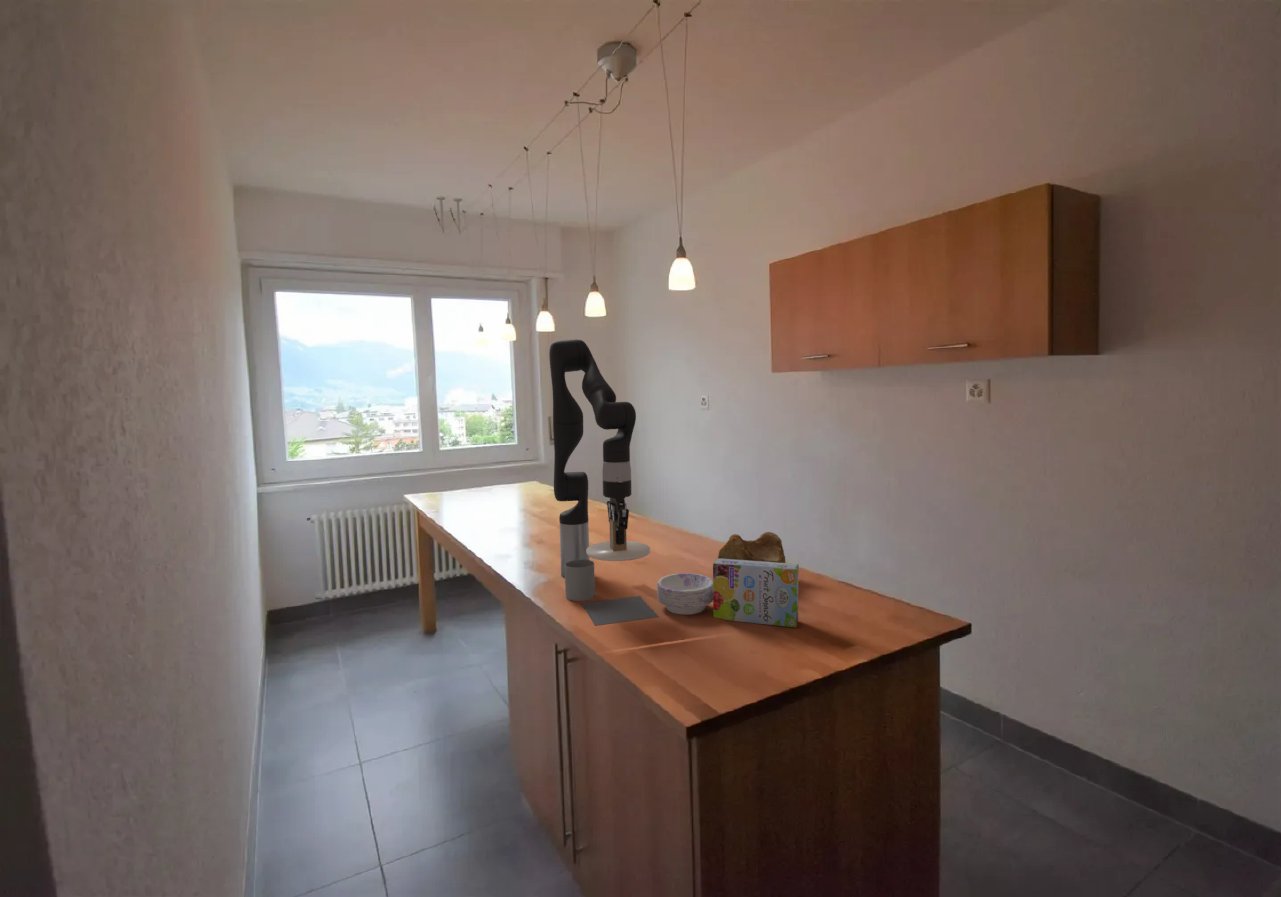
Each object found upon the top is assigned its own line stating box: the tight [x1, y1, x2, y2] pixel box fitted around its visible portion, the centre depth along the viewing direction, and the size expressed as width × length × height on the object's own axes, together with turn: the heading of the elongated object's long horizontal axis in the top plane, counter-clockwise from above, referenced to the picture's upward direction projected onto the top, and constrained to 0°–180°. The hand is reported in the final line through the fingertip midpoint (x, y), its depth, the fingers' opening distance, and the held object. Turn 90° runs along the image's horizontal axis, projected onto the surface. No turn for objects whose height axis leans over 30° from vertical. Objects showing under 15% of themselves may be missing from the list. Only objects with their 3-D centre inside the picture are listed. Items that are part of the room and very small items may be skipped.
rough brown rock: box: [717, 531, 786, 563], centre depth 185 cm, size 23×17×15 cm
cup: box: [564, 559, 596, 602], centre depth 176 cm, size 8×8×10 cm
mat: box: [580, 595, 660, 627], centre depth 165 cm, size 17×17×1 cm
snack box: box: [712, 557, 800, 628], centre depth 157 cm, size 21×6×15 cm, turn 71°
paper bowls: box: [656, 572, 713, 616], centre depth 166 cm, size 15×15×8 cm
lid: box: [586, 518, 651, 562], centre depth 163 cm, size 17×17×9 cm
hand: (618, 541), depth 163 cm, fingers closed on lid, 3 cm apart
